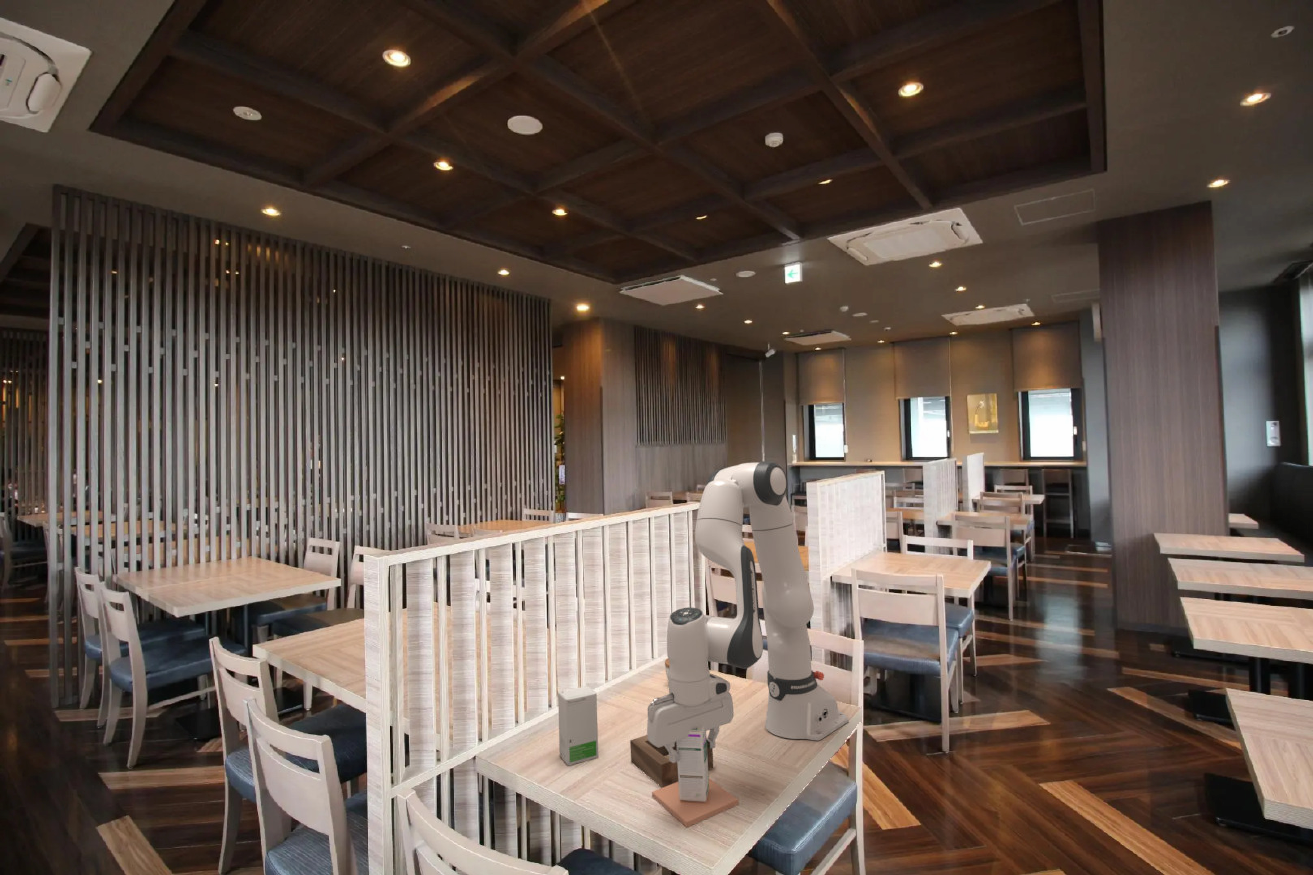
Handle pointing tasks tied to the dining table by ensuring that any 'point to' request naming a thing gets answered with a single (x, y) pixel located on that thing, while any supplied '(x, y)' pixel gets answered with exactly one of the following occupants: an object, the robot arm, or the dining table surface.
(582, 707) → the skincare box
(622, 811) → the dining table surface
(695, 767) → the syrup box
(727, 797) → the terracotta tile
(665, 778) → the holder sleeve
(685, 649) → the robot arm
